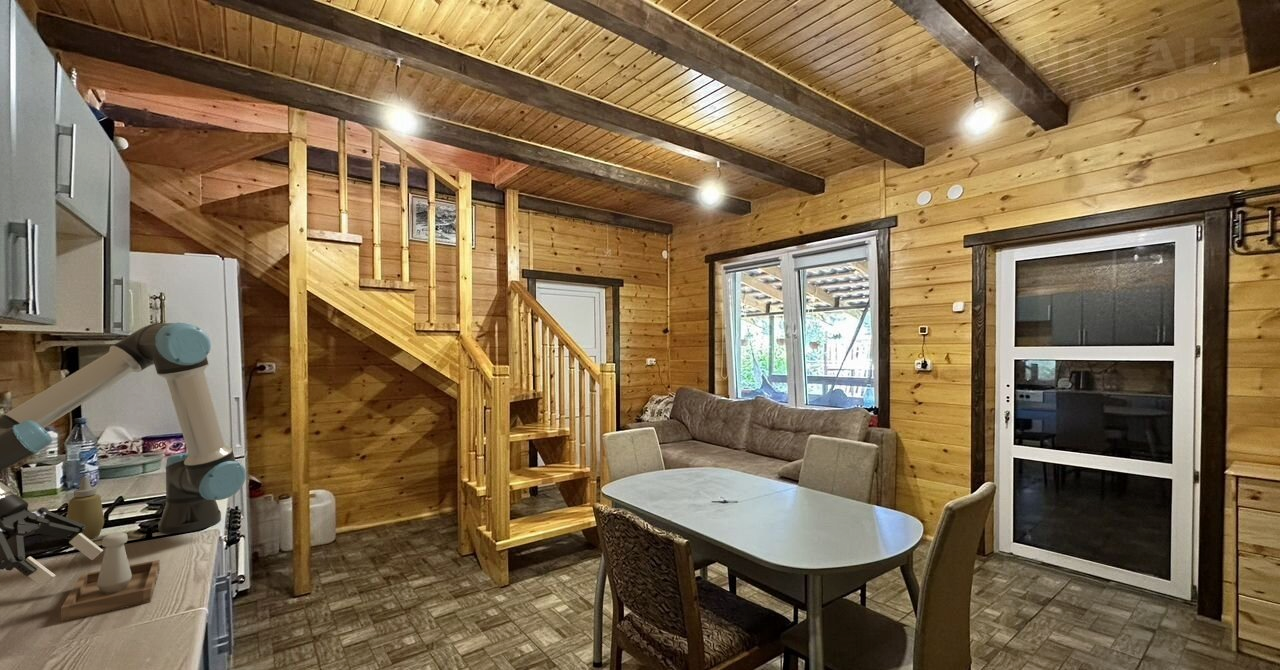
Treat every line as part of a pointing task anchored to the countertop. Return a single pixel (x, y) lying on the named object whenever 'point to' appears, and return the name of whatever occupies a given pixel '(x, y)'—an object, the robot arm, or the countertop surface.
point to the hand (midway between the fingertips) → (74, 567)
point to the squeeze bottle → (87, 509)
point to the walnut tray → (93, 601)
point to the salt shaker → (114, 564)
